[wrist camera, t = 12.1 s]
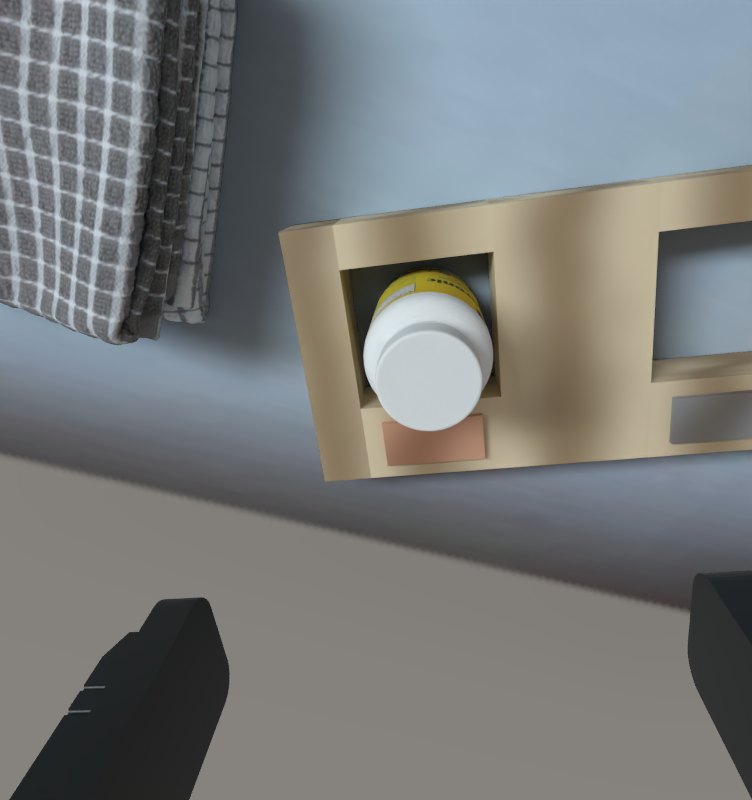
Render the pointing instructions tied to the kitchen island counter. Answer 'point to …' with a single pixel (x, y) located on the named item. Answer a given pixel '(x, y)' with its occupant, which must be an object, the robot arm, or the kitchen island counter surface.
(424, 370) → the supplement bottle
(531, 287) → the socket holder
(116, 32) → the towel
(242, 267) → the kitchen island counter surface
